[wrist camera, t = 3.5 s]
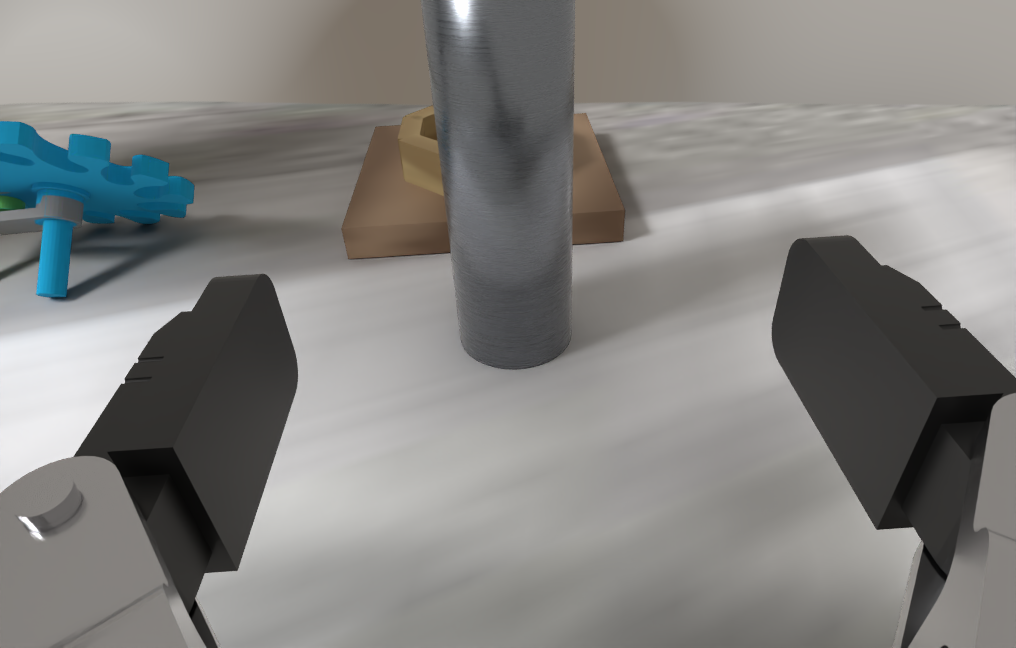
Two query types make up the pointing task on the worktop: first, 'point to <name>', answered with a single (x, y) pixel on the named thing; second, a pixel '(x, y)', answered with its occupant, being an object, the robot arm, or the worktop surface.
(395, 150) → the stand
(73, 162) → the blue irregular figure
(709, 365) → the worktop surface
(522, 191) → the pin
